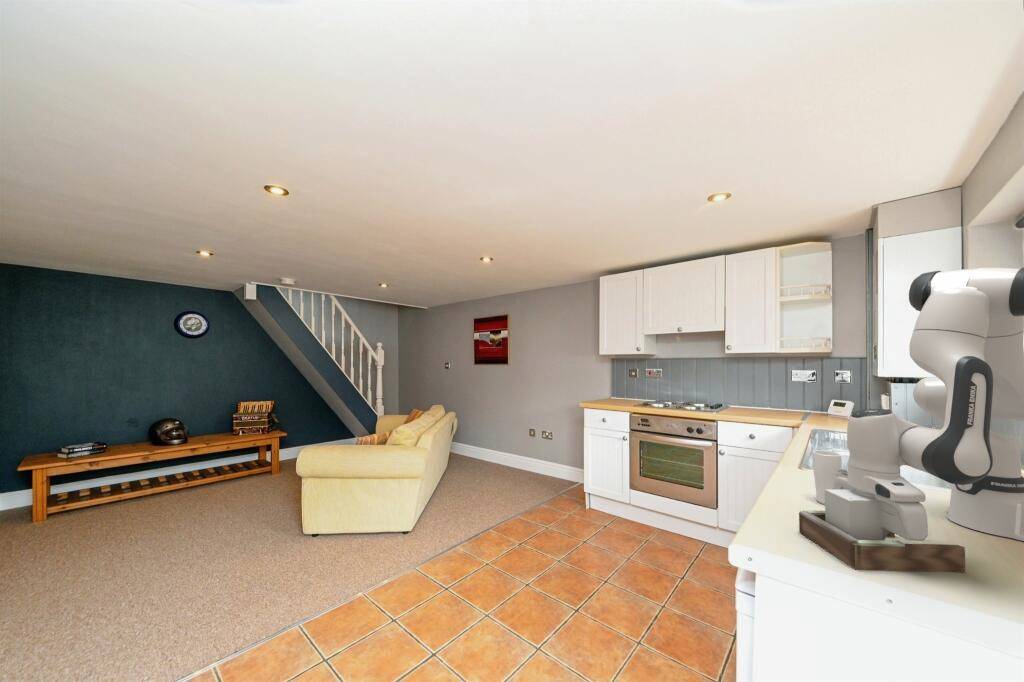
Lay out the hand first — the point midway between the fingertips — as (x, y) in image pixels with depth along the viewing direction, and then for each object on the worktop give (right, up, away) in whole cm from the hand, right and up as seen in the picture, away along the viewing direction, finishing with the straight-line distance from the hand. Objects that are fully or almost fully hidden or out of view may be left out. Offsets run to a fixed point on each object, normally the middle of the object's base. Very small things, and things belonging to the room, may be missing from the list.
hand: (875, 541), depth 88 cm
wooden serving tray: (0, -2, 0) cm, 2 cm away
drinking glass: (+12, -3, +28) cm, 30 cm away
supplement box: (-5, -2, 0) cm, 5 cm away
